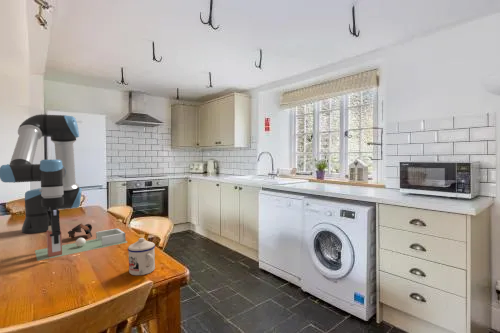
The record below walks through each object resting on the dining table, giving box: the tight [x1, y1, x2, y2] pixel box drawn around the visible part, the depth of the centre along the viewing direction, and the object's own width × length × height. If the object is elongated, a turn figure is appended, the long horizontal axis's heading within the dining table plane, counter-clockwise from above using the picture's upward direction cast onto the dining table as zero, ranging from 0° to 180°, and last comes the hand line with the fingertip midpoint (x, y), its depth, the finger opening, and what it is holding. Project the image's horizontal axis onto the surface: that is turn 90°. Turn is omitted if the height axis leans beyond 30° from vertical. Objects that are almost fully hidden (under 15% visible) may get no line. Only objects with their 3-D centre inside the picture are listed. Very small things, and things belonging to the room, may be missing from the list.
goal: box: [95, 228, 127, 246], centre depth 132 cm, size 12×10×4 cm
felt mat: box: [34, 238, 128, 262], centre depth 125 cm, size 16×34×1 cm, turn 131°
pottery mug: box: [67, 223, 93, 240], centre depth 138 cm, size 12×10×8 cm
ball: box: [74, 237, 87, 247], centre depth 124 cm, size 4×4×4 cm
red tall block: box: [46, 226, 63, 257], centre depth 114 cm, size 4×4×12 cm
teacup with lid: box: [127, 237, 156, 276], centre depth 97 cm, size 12×9×12 cm
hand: (54, 247), depth 114 cm, fingers open, 13 cm apart
